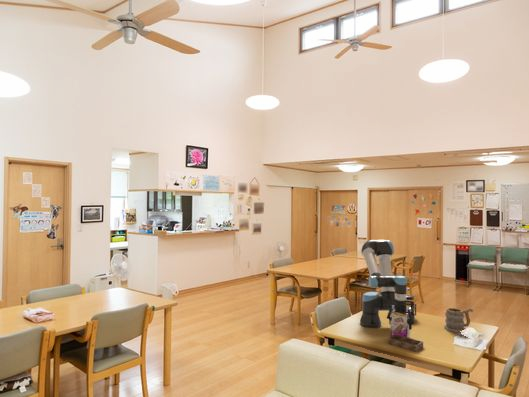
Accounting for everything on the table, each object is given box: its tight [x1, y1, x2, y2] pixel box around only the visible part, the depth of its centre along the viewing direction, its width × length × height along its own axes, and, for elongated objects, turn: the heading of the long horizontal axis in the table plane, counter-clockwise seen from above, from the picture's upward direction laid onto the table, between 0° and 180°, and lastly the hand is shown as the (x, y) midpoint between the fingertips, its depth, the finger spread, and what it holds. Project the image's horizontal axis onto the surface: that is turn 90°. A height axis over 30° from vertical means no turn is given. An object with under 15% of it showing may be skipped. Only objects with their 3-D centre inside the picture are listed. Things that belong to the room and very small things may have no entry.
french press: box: [406, 287, 417, 319], centre depth 301 cm, size 12×9×23 cm
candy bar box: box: [390, 310, 411, 338], centre depth 256 cm, size 11×5×16 cm, turn 51°
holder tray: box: [387, 335, 424, 352], centre depth 241 cm, size 18×10×4 cm, turn 45°
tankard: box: [443, 307, 474, 333], centre depth 273 cm, size 20×13×15 cm, turn 91°
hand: (400, 331), depth 256 cm, fingers closed on candy bar box, 11 cm apart
